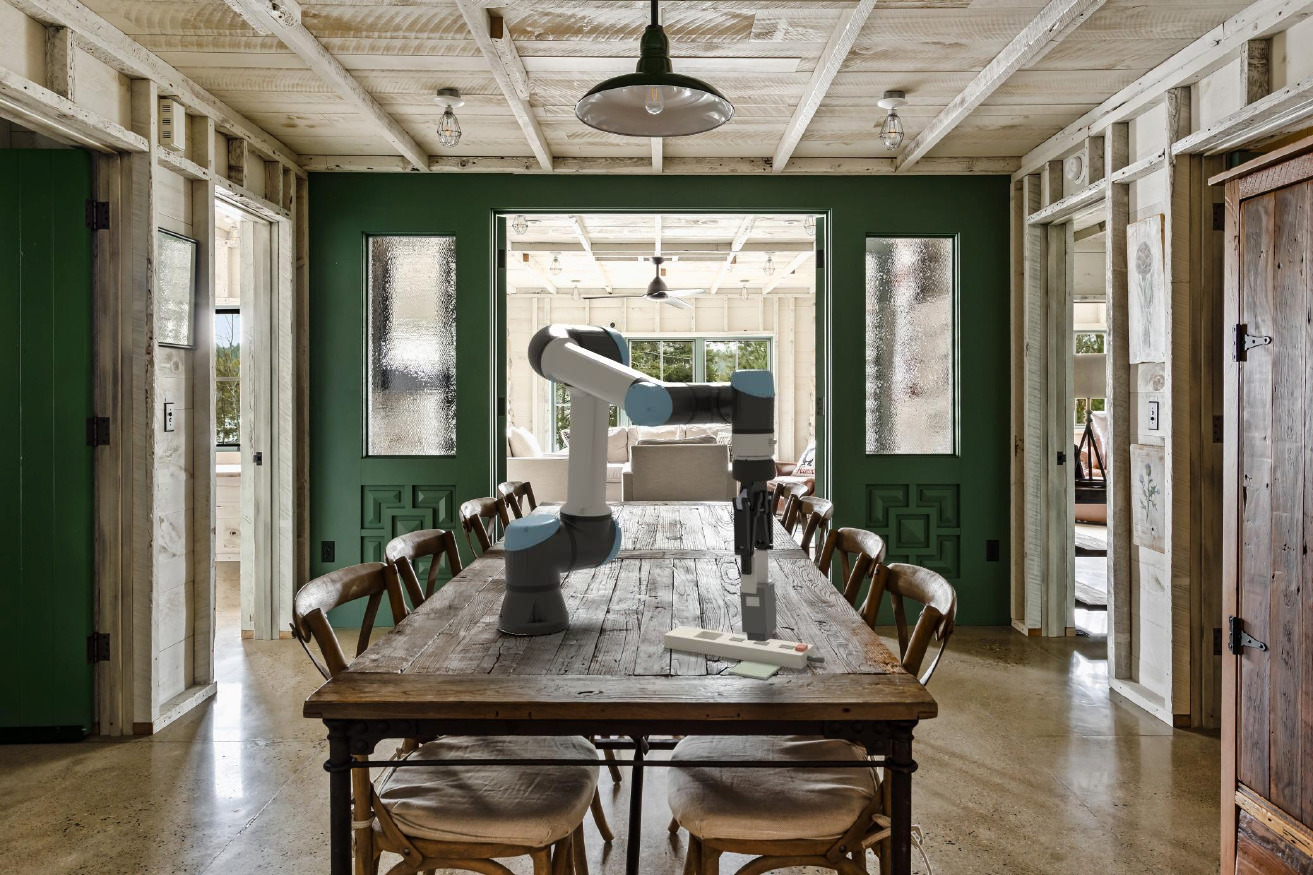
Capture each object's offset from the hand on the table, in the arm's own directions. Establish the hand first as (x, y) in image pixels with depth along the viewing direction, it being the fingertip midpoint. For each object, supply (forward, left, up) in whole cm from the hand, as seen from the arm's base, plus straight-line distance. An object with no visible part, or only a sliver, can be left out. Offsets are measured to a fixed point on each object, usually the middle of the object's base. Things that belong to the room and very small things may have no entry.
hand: (754, 588), depth 145 cm
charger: (+1, 0, -9) cm, 9 cm away
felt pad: (0, 0, -15) cm, 15 cm away
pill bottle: (-8, +23, -15) cm, 28 cm away
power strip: (-6, +8, -15) cm, 18 cm away
